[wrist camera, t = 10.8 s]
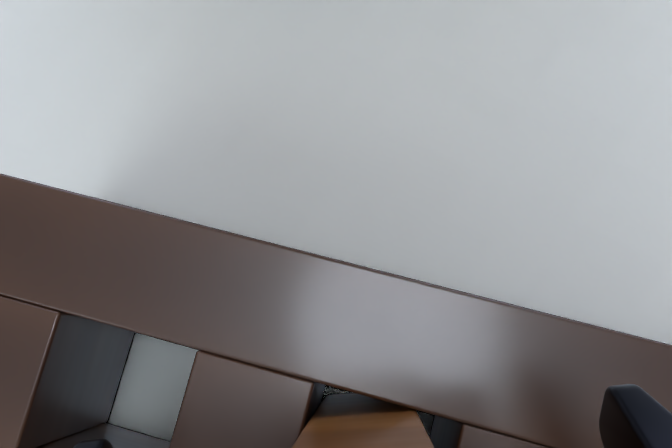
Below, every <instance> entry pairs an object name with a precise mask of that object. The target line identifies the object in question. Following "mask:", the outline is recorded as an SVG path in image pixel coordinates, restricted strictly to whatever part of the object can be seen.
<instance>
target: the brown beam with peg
mask: <svg viewBox="0 0 672 448" xmlns="http://www.w3.org/2000/svg"><path fill="white" fill-rule="evenodd" d="M291 448H434V446H433V444H432V442H431V440H430V438H429V436H428V434H427V432H426V430H425V428H424V426H423V424H422V422H421V420H420V418H419V416H418V414H417V412H416V410H414V409H410V408H407V407H403V406H400V405H396V404H392V403H389V402H385V401H382V400H378V399H374V398H371V397H367V396H363V395H360V394H356V393H345V394H333V395H327V396H325V398H324V399H323V401H322V402H321V404H320V405H319V407H318V408H317V410H316V411H315V413H314V414H313V416H312V417H311V419H310V420H309V422H308V423H307V425H306V426H305V428H304V429H303V431H302V432H301V434H300V435H299V437H298V438H297V440H296V441H295V443H294V444H293V446H292V447H291Z"/></svg>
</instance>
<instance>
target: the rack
mask: <svg viewBox="0 0 672 448" xmlns="http://www.w3.org/2000/svg"><path fill="white" fill-rule="evenodd" d="M134 332H136V333H139V334H143V335H147V336H150V337H154V338H157V339H161V340H165V341H168V342H172V343H175V344H179V345H183V346H186V347H190V348H194V349H197V350H199V351H197V353H196V356H195V359H194V363H193V366H192V370H191V373H190V377H189V380H188V384H187V387H186V391H185V394H184V398H183V401H182V404H181V408H180V411H179V415H178V418H177V422H176V425H175V429H174V432H173V436H172V439H171V442H168V441H165V440H161V439H158V438H155V437H151V436H148V435H144V434H141V433H138V432H134V431H131V430H127V429H124V428H120V427H117V426H114V425H110V424H107V423H105V422H107V421H108V417H109V414H110V411H111V408H112V404H113V401H114V398H115V394H116V391H117V388H118V385H119V381H120V378H121V375H122V371H123V368H124V365H125V362H126V358H127V355H128V352H129V348H130V345H131V342H132V339H133V335H134ZM625 384H635V385H637V386H639V387H641V388H642V389H643V390H644V391H646V392H647V393H648V394H649V395H650V396H652V397H653V398H654V399H655V400H656V401H657V402H659V403H660V404H661V405H662V406H663V407H665V408H666V409H667V410H668V411H669V412H670V413H672V345H669V344H665V343H661V342H657V341H653V340H650V339H646V338H642V337H638V336H634V335H630V334H626V333H622V332H618V331H614V330H610V329H606V328H603V327H599V326H595V325H591V324H587V323H583V322H579V321H575V320H571V319H567V318H563V317H560V316H556V315H552V314H548V313H544V312H540V311H536V310H532V309H528V308H524V307H520V306H517V305H513V304H509V303H505V302H501V301H497V300H493V299H489V298H485V297H481V296H477V295H473V294H470V293H466V292H462V291H458V290H454V289H450V288H446V287H442V286H438V285H434V284H430V283H427V282H423V281H419V280H415V279H411V278H407V277H403V276H399V275H395V274H391V273H387V272H383V271H380V270H376V269H372V268H368V267H364V266H360V265H356V264H352V263H348V262H344V261H340V260H337V259H333V258H329V257H325V256H321V255H317V254H313V253H309V252H305V251H301V250H297V249H294V248H290V247H286V246H282V245H278V244H274V243H270V242H266V241H262V240H258V239H254V238H250V237H247V236H243V235H239V234H235V233H231V232H227V231H223V230H219V229H215V228H211V227H207V226H204V225H200V224H196V223H192V222H188V221H184V220H180V219H176V218H172V217H168V216H164V215H160V214H157V213H153V212H149V211H145V210H141V209H137V208H133V207H129V206H125V205H121V204H117V203H114V202H110V201H106V200H102V199H98V198H94V197H90V196H86V195H82V194H78V193H74V192H71V191H67V190H63V189H59V188H55V187H51V186H47V185H43V184H39V183H35V182H31V181H27V180H24V179H20V178H16V177H12V176H8V175H4V174H0V448H73V447H74V446H75V445H76V444H77V443H79V442H80V441H83V440H88V439H98V438H106V439H107V440H109V441H110V442H111V444H112V446H113V448H291V447H292V446H293V444H294V443H295V441H296V440H297V438H298V437H299V435H300V434H301V432H302V431H303V429H304V428H305V426H306V425H307V423H308V422H309V420H310V419H311V417H312V416H313V414H314V413H315V411H316V410H317V408H318V407H319V405H320V404H321V401H322V397H323V393H324V389H325V385H327V386H331V387H335V388H338V389H342V390H345V391H349V392H353V393H356V394H360V395H363V396H367V397H371V398H374V399H378V400H382V401H385V402H389V403H392V404H396V405H400V406H403V407H407V408H410V409H414V410H418V411H421V412H425V413H428V414H432V415H435V417H434V422H433V426H432V430H431V435H430V440H431V442H432V444H433V446H434V448H604V445H603V442H602V439H601V435H600V431H599V418H600V413H601V408H602V403H603V398H604V393H605V390H606V389H607V388H608V387H609V386H615V385H625Z"/></svg>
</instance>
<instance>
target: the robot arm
mask: <svg viewBox="0 0 672 448" xmlns="http://www.w3.org/2000/svg"><path fill="white" fill-rule="evenodd" d="M599 431H600V435H601V439H602V442H603V445H604V448H672V413H670V412H669V411H668V410H667V409H666V408H665V407H663V406H662V405H661V404H660V403H659V402H657V401H656V400H655V399H654V398H653V397H652V396H650V395H649V394H648V393H647V392H646V391H644V390H643V389H642V388H641V387H639V386H637V385H635V384H625V385H615V386H609V387H608V388H607V389H606V390H605V393H604V398H603V403H602V408H601V413H600V418H599ZM73 448H113V446H112V444H111V442H110V441H109V440H107V439H106V438H98V439H88V440H83V441H80V442H79V443H77V444H76V445H75V446H74V447H73Z"/></svg>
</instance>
